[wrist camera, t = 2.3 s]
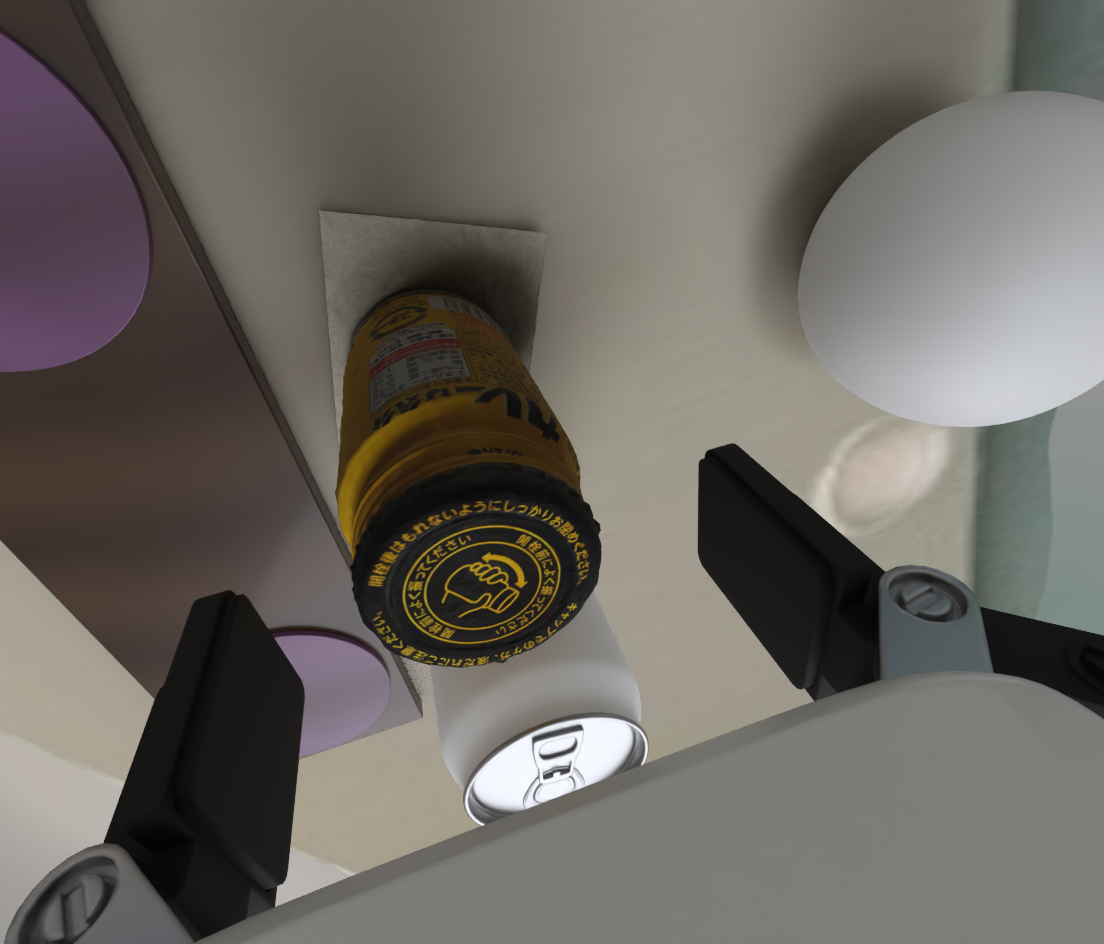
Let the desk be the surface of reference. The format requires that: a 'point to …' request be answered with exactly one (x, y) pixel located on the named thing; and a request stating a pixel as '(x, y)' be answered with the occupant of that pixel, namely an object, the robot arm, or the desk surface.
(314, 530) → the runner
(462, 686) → the can
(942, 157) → the ornament
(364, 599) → the condiment
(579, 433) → the desk surface
